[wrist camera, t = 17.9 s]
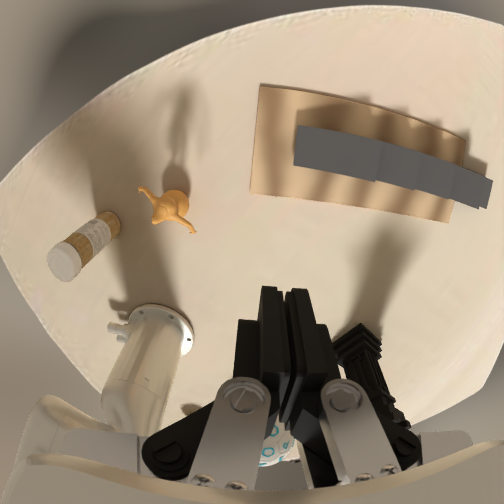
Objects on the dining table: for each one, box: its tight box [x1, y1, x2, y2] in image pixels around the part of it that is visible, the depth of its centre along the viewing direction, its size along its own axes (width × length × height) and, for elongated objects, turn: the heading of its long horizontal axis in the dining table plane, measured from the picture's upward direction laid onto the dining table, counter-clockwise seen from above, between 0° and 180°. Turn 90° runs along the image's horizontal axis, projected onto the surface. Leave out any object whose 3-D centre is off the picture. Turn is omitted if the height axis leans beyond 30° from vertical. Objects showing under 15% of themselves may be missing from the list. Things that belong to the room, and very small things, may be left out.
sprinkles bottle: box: [47, 211, 121, 282], centre depth 31 cm, size 5×5×14 cm
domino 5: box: [480, 178, 493, 209], centre depth 31 cm, size 2×5×10 cm
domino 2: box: [376, 141, 422, 191], centre depth 30 cm, size 2×5×10 cm
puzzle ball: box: [259, 414, 295, 466], centre depth 51 cm, size 15×15×15 cm
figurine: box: [138, 186, 196, 234], centre depth 30 cm, size 8×6×12 cm
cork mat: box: [250, 86, 466, 223], centre depth 32 cm, size 32×14×1 cm, turn 85°
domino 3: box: [415, 153, 456, 200], centre depth 30 cm, size 2×5×10 cm
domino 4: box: [449, 165, 486, 209], centre depth 30 cm, size 2×5×10 cm
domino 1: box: [293, 125, 382, 182], centre depth 30 cm, size 2×5×10 cm
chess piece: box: [332, 323, 411, 430], centre depth 38 cm, size 8×8×20 cm
